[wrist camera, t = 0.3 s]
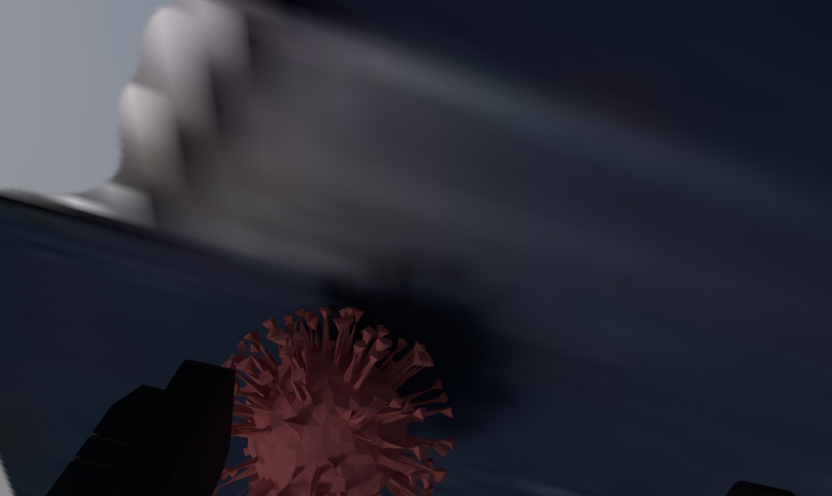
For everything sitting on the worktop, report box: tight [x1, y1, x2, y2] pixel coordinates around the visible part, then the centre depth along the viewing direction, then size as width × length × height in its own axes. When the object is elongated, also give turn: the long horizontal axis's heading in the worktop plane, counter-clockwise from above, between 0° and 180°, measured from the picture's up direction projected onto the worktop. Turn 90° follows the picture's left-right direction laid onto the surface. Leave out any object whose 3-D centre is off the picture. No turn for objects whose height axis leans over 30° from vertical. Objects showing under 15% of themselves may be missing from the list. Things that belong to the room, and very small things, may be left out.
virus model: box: [212, 307, 454, 496], centre depth 39 cm, size 15×15×15 cm
